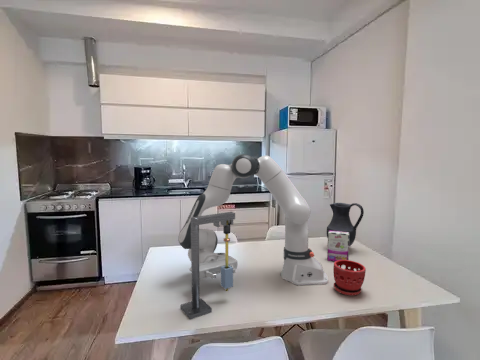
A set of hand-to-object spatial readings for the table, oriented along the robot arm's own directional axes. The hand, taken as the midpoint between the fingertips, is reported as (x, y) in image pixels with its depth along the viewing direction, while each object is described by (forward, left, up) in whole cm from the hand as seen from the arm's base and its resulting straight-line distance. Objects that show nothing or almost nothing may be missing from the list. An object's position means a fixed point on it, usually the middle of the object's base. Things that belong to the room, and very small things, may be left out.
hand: (224, 273), depth 123 cm
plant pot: (-53, -12, -11) cm, 56 cm away
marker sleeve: (-1, +2, -4) cm, 5 cm away
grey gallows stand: (+5, +7, -10) cm, 13 cm away
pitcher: (-63, -64, -11) cm, 91 cm away
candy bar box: (-56, -47, -11) cm, 74 cm away
